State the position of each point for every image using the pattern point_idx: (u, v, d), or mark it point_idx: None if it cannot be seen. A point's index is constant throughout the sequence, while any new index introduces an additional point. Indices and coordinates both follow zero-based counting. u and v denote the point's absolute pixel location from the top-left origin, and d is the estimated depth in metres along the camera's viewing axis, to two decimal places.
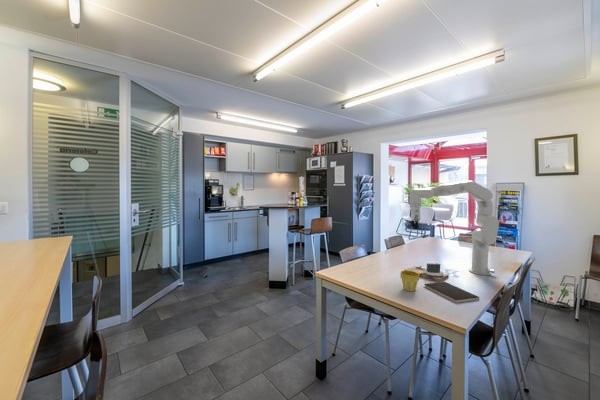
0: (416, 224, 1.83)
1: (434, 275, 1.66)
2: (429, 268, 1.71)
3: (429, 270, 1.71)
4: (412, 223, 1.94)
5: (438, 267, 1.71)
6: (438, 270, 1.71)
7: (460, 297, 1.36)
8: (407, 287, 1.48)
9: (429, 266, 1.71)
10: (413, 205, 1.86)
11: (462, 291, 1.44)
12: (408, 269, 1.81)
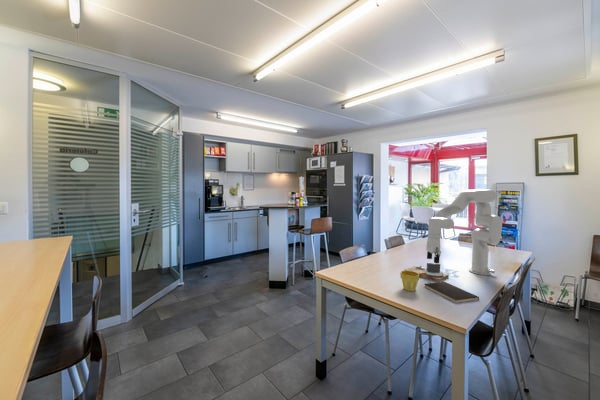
0: None
1: (434, 275, 1.66)
2: (429, 268, 1.71)
3: (429, 270, 1.71)
4: None
5: (438, 267, 1.71)
6: (438, 270, 1.71)
7: (460, 297, 1.36)
8: (407, 287, 1.48)
9: (429, 266, 1.71)
10: None
11: (462, 291, 1.44)
12: (408, 269, 1.81)
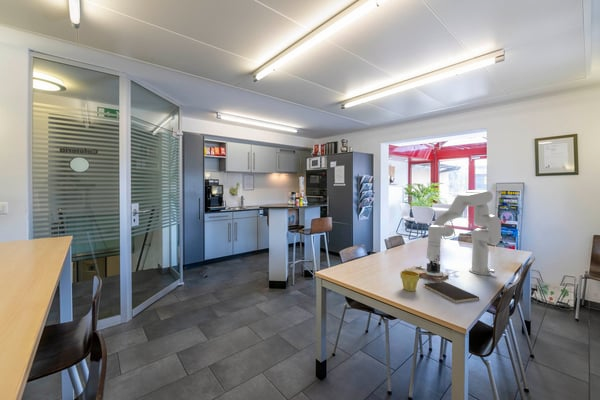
0: None
1: (434, 275, 1.66)
2: (429, 268, 1.71)
3: (429, 270, 1.71)
4: None
5: (438, 267, 1.71)
6: (438, 270, 1.71)
7: (460, 297, 1.36)
8: (407, 287, 1.48)
9: (429, 266, 1.71)
10: None
11: (462, 291, 1.44)
12: (408, 269, 1.81)
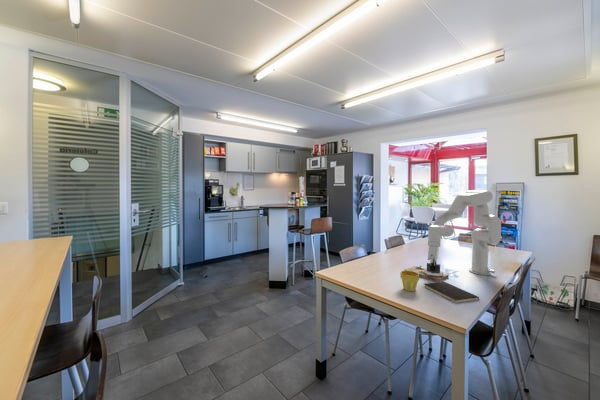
0: None
1: (429, 274, 1.68)
2: (428, 267, 1.72)
3: (428, 269, 1.72)
4: None
5: (438, 268, 1.69)
6: (438, 271, 1.69)
7: (460, 297, 1.36)
8: (407, 287, 1.48)
9: (428, 265, 1.72)
10: None
11: (462, 291, 1.44)
12: (408, 269, 1.81)
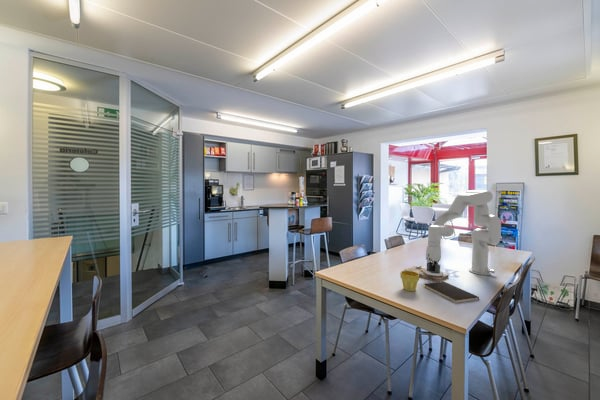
0: None
1: (426, 273, 1.70)
2: (427, 267, 1.74)
3: (427, 269, 1.74)
4: None
5: (436, 268, 1.69)
6: (436, 271, 1.69)
7: (460, 297, 1.36)
8: (407, 287, 1.48)
9: (427, 265, 1.74)
10: None
11: (462, 291, 1.44)
12: (408, 269, 1.81)
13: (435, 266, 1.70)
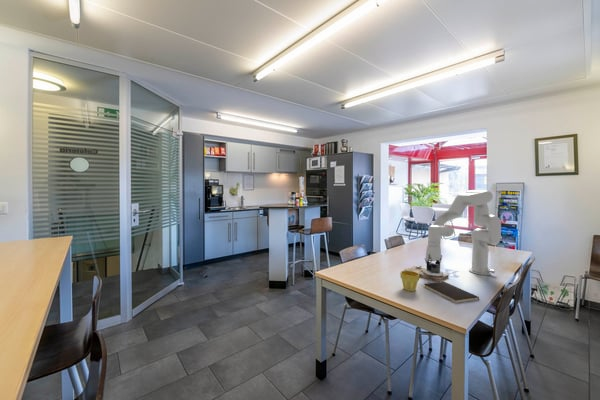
0: None
1: (426, 273, 1.70)
2: None
3: None
4: None
5: (436, 268, 1.69)
6: (436, 271, 1.69)
7: (460, 297, 1.36)
8: (407, 287, 1.48)
9: None
10: None
11: (462, 291, 1.44)
12: (408, 269, 1.81)
13: (435, 266, 1.70)
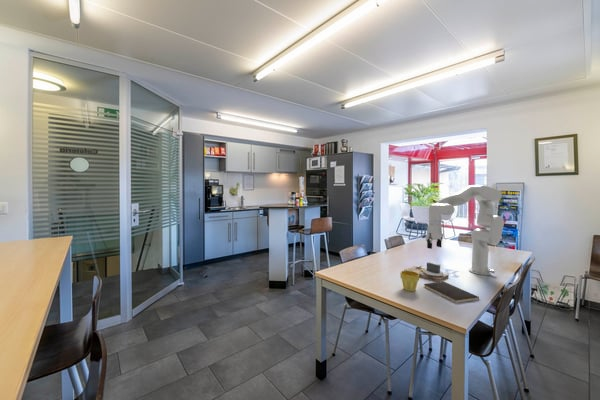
0: None
1: (426, 273, 1.70)
2: (427, 267, 1.74)
3: (427, 269, 1.74)
4: None
5: (436, 268, 1.69)
6: (436, 271, 1.69)
7: (460, 297, 1.36)
8: (407, 287, 1.48)
9: (427, 265, 1.74)
10: None
11: (462, 291, 1.44)
12: (408, 269, 1.81)
13: (435, 266, 1.70)
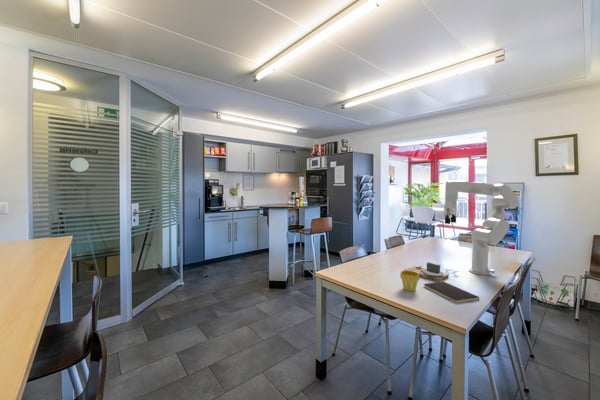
0: None
1: (426, 273, 1.70)
2: (427, 267, 1.74)
3: (427, 269, 1.74)
4: None
5: (436, 268, 1.69)
6: (436, 271, 1.69)
7: (460, 297, 1.36)
8: (407, 287, 1.48)
9: (427, 265, 1.74)
10: None
11: (462, 291, 1.44)
12: (408, 269, 1.81)
13: (435, 266, 1.70)
